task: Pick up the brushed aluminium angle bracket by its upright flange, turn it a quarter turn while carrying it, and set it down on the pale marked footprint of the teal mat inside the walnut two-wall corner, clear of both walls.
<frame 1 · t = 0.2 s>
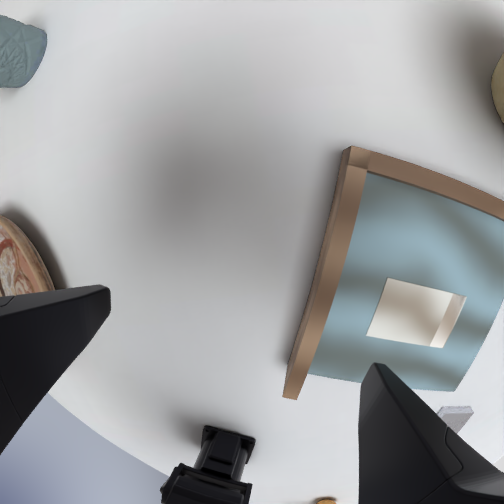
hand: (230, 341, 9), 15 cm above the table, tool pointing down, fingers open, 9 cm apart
aluminium bracket: (440, 428, 25), on the table
embossed green cup: (29, 58, 22), on the table
corner arena: (423, 303, 21), on the table
figurine: (322, 501, 33), on the table
ceramic bowl: (28, 288, 31), on the table
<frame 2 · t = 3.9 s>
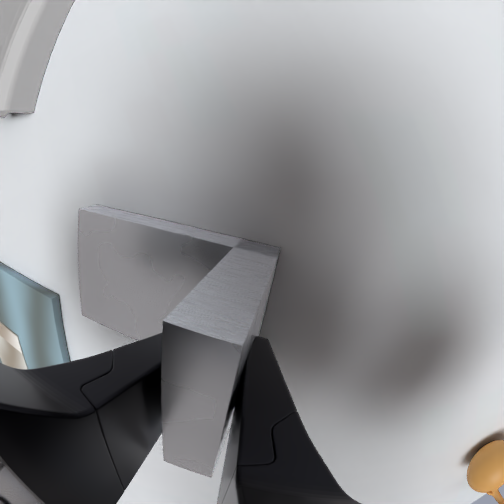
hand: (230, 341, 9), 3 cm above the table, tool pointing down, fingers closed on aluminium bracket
aluminium bracket: (169, 282, 11), on the table, touching gripper
corner arena: (10, 350, 17), on the table
figurine: (490, 446, 11), on the table
grey arched casing: (48, 1, 9), on the table
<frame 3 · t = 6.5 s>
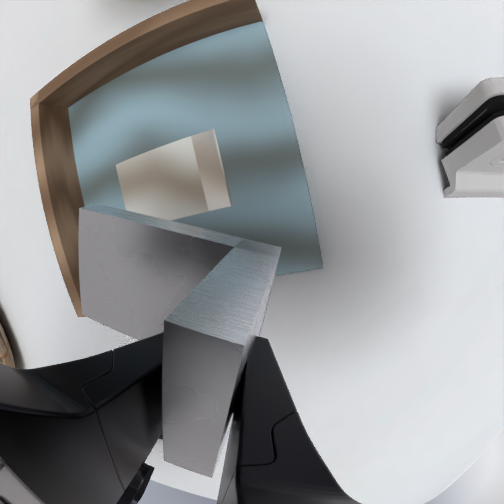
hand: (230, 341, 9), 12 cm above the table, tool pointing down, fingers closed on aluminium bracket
aluminium bracket: (169, 282, 11), point 10 cm above the table, touching gripper
corner arena: (172, 167, 20), on the table
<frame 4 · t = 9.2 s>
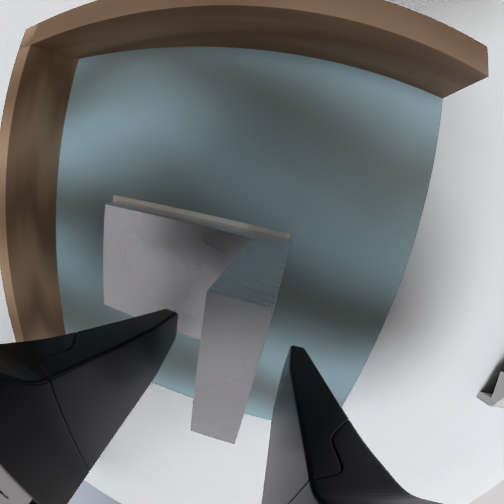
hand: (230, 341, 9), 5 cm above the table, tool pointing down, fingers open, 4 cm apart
aluminium bracket: (189, 271, 13), point 1 cm above the table, touching corner arena
corner arena: (198, 246, 13), on the table
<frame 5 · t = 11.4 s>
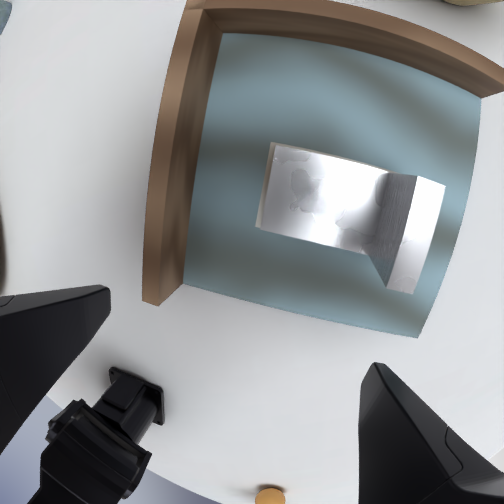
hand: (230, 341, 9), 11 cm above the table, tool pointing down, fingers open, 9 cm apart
aluminium bracket: (335, 200, 17), point 1 cm above the table, touching corner arena
corner arena: (337, 184, 17), on the table
figurine: (269, 490, 29), on the table
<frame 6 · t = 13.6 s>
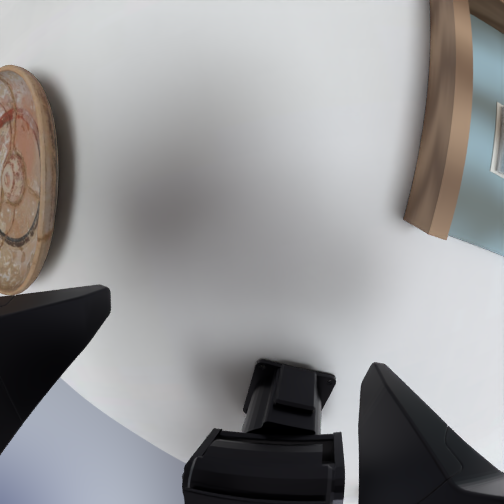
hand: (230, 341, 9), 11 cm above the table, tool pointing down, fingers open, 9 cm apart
ceramic bowl: (18, 177, 23), on the table
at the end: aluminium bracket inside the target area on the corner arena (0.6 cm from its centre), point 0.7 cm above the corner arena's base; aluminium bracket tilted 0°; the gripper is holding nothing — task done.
